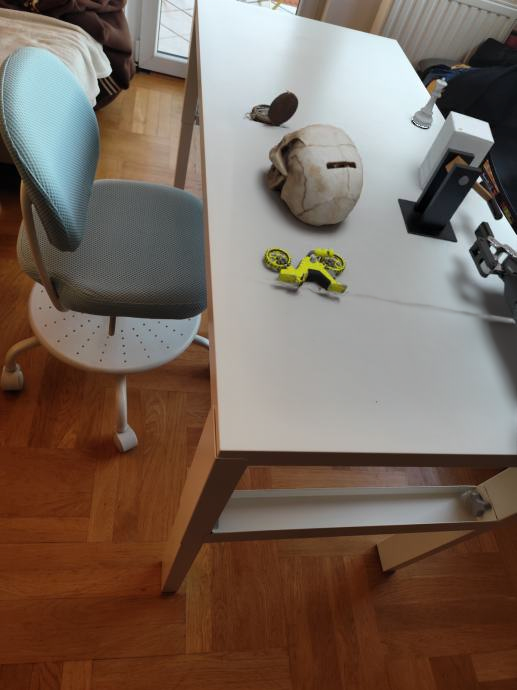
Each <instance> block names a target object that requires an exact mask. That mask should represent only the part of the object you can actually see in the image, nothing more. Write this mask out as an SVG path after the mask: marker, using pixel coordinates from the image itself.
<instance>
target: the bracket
mask: <svg viewBox="0 0 517 690" xmlns="http://www.w3.org/2000/svg"><path fill="white" fill-rule="evenodd" d="M457 156H459V157H460V158H462V159H463V160H464V161H465V162H466V163H467V164H468V165H469V166H468V165H463V164H459V163H454V165H453V166H452V168H451V170H450V171H449V173H448V172H447V169H446V167H445V166H446V165H448V164H449V163H450V162H451V161H453V160H454V159H455V158H456V157H457ZM474 158H475V156H474V154H473V153H468V152H464V151H460V150H455V149H451V148H448V149H447V151H446V153H445V154H444V156H443V158H442V159H441V161H440V163H439V165H438V166H437V168H436V170H435V171H434V173H433V175H432V176H431V178H430V180H429V181H428V183H427V185H426V187H425V188H424V190H422V192H421V193H420V195H419V197H418V198H417V200H416V201H414V200H408V199H404V198H398V199H397V202H398V206H399V209H400V212H401V216H402V219H403V222H404V226H405V229H406V232H407V234H409V235H414V236H420V237H425V238H429V239H436V240H441V241H446V242H450V243H451V242H452V243H456V244H457V243H458V238H457V235H456V233H455V231H454V228H453V225H452V223H451V220H452V218H453V216H454V215H455V213H456V212H457V211H458V209H459V208H460V206H461V204H462V203H463V201H464V200H465V199H466V197H467V196H468V194H469V193H470V191H471V190H472V187H473V185H474V184H475V182H476V181H477V182H478V180H479V178H480V177H481V175H482V174H483V171H482V168H481V167H478V168H477V167H472V166H470V164H471V162H472V161H473V159H474Z"/></svg>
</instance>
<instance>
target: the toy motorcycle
mask: <svg viewBox="0 0 517 690" xmlns="http://www.w3.org/2000/svg"><path fill="white" fill-rule="evenodd" d="M272 254H275V256H274V255H272ZM313 255H314V256H315V257H314V256H313ZM271 258H272V259H274V261H272V260H271ZM327 258H328V259H327ZM263 260H264V263H266V265H268V267H269V268H271V269H274V270H278V271H279V274H278V277H277V282H283V283H288V284H291V285H294V286H295V287H296V289H295V293H297V292H298V289H300V288H301V287H302V286H303V285H304V283H305V282H315V283H316V284H318V285H319V286H320V287H322V288H323V289H324V290H325V291H329V292H333V293H338V294H344V293H345V292H346V290H347V288H348V286H349V285H348V284H344V283H341V282H339V281H336V278H337V276H336V275H339V274H342V273H344V271H345V269H346V266H347V264H346V261H345V259H344V258H343V256H341V255H340V254H338V253H335V251H334V249H329V248H328V249H327V248H320V247H319V248H315V249H311V250H309V252H308V253H307V254H306V255H305V256H304V257H303V258H302V259H301V260H300V261H299V263H298V265H297V266H296V268H295V267H293V266H292V265H291V264H292V257H291V255H290V253H289V252H287V250H284V248H281V247H272V248H271V247H269V249H267V250H266V251H265V252H264V256H263ZM337 264H340V266H339V265H337ZM334 267H335V268H334Z"/></svg>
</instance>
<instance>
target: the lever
mask: <svg viewBox="0 0 517 690" xmlns="http://www.w3.org/2000/svg"><path fill="white" fill-rule="evenodd" d="M454 163H459V164H463V165H468V164H467V163H466V162H465V161H464V160H463V159H462V158H460V157H459V156H457V157H456V158H455V159H454V160H453V161H451V162H450V163H449V164H448V165H446V166H445V167H446V169H447V172H448V173H449V171H450V170H451V168H452V166H453V165H454ZM468 166H469V165H468ZM471 190H473V191H474V192H475V193H476V194H477V195H479V196H480V197H481V198H482V199H483V200H484V201H485V202H486V205H487V207H488V209H489V211H490V213H491V215H492V217H493V219H494V220H495V221H500V220H502V219H503V218H504V214H503V211H502V209H501V208H500V206H499V204H498V201H497V200H496V198H495V196H494V194H493V192H492V190H491V188H490V186H489V183H488V182H487V181H486V180H480V181H479V182H478V180H477V181H476V182H475V184H474V185H473V187H472V188H471Z"/></svg>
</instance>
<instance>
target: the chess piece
mask: <svg viewBox="0 0 517 690" xmlns="http://www.w3.org/2000/svg"><path fill="white" fill-rule="evenodd" d="M445 80H446V78H445V77H442V78H441V79H440V78H439V79H436V81H435V83H436V84H435V85H436V86H435V88H434V89H431V90H430V94H429V95H431V96H430V98H429V99H428V101H427V103H426V104H425V105H424V106H423V107H421V108H420V110H418V111H416V112H415V113H414V115H413V116H412V118H413V121H414V122H415V123H416V124H418V125H420V126H424V127H429V126H430V127H431V126H432V124H433V122H434V119H433V118H434V117H433V115H434V111H433V110H434V107H435V104H436V102H437V99H439V98H441V97H442V90H443V89H444V88H446V87H447V86H448V83H447V82H446V81H445Z"/></svg>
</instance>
